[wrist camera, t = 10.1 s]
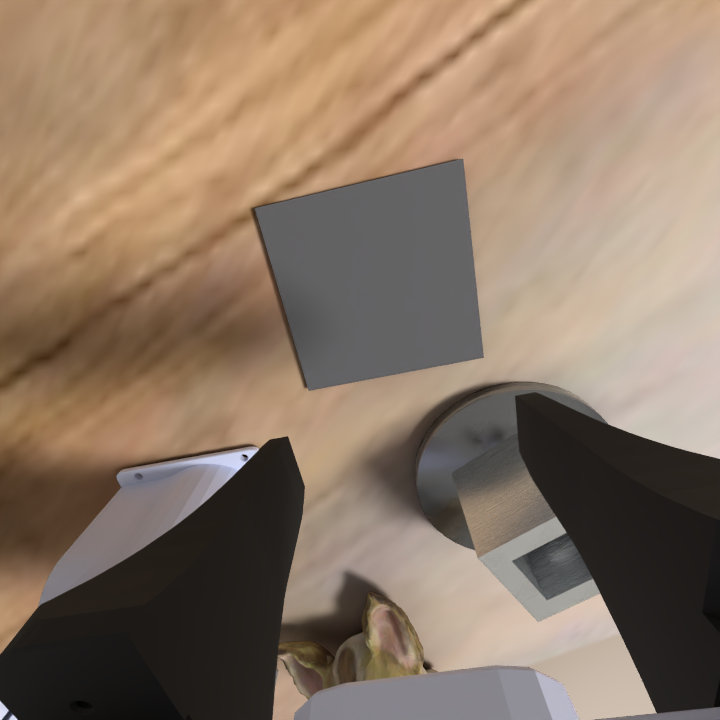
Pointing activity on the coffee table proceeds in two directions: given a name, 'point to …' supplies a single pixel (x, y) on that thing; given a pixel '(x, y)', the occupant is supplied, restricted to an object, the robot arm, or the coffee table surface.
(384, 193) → the mat
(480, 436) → the hub
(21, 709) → the robot arm
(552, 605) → the grey hollow cube
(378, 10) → the coffee table surface
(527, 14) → the coffee table surface
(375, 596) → the ceramic sculpture
